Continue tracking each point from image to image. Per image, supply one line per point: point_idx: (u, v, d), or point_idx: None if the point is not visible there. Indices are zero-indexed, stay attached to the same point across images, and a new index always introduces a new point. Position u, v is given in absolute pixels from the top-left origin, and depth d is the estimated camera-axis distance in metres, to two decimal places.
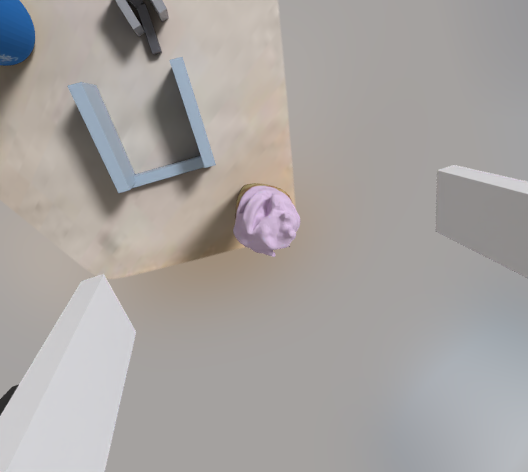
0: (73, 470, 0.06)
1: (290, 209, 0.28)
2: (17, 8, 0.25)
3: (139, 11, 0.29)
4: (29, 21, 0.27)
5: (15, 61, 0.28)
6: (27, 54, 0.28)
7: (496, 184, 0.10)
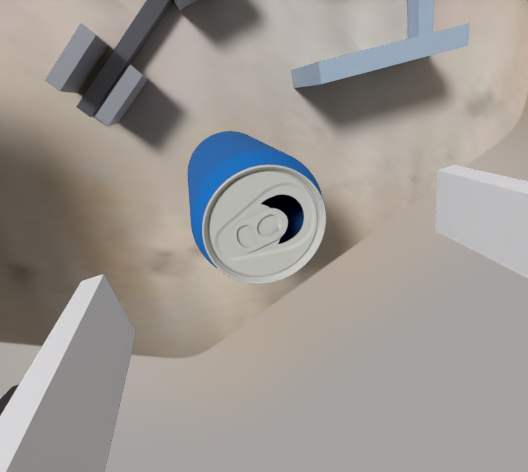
0: (73, 470, 0.06)
1: None
2: (222, 135, 0.20)
3: None
4: (226, 132, 0.21)
5: None
6: None
7: (496, 184, 0.10)
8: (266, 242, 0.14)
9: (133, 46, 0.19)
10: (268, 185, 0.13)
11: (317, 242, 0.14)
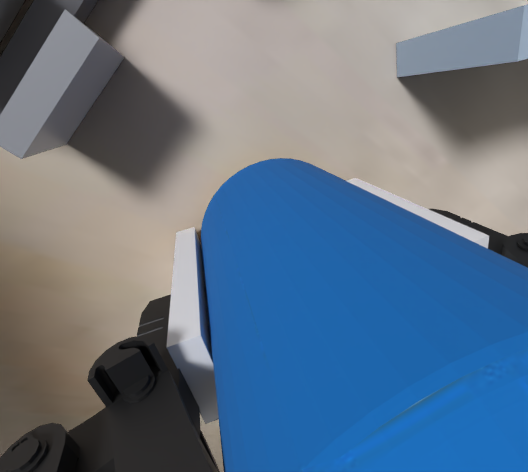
0: None
1: None
2: (276, 173, 0.09)
3: None
4: (276, 161, 0.11)
5: None
6: None
7: None
8: None
9: None
10: None
11: None
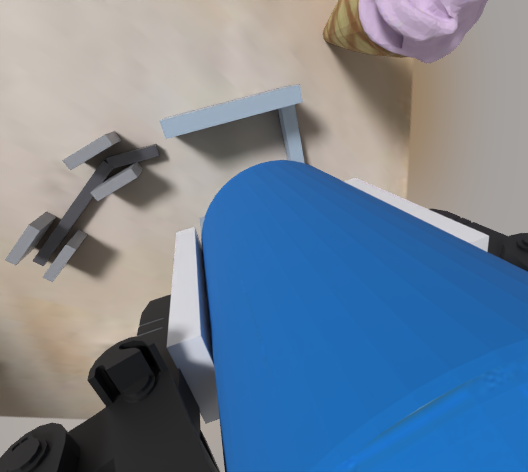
0: None
1: None
2: (277, 176, 0.09)
3: (115, 165, 0.25)
4: (277, 163, 0.11)
5: None
6: None
7: None
8: None
9: (72, 220, 0.26)
10: None
11: None
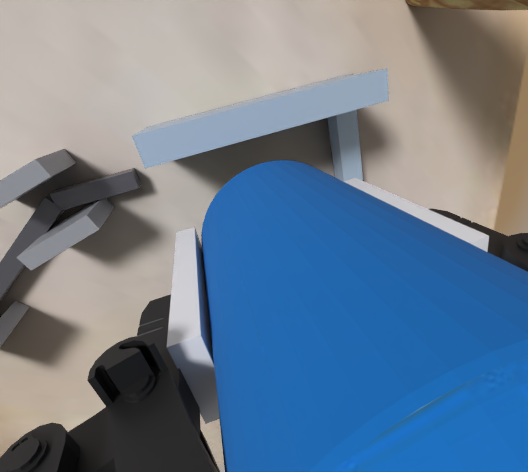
0: None
1: None
2: (277, 176, 0.09)
3: (67, 205, 0.15)
4: (277, 163, 0.11)
5: None
6: None
7: None
8: None
9: (0, 291, 0.16)
10: None
11: None
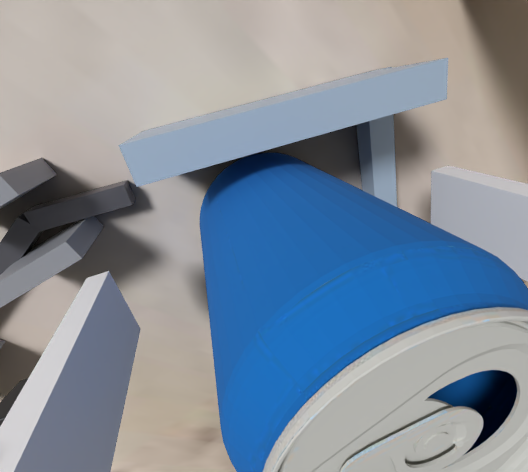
0: (82, 461, 0.06)
1: None
2: (262, 164, 0.11)
3: (45, 226, 0.12)
4: (264, 154, 0.13)
5: None
6: None
7: (489, 184, 0.10)
8: None
9: None
10: (461, 358, 0.04)
11: None
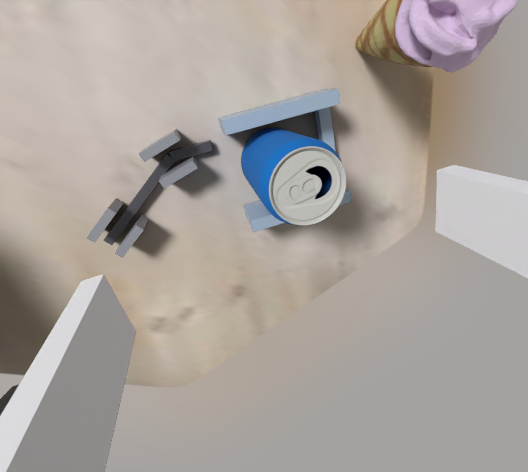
0: (73, 470, 0.06)
1: None
2: (270, 130, 0.28)
3: (176, 158, 0.29)
4: (271, 128, 0.29)
5: None
6: None
7: (496, 184, 0.10)
8: (307, 197, 0.22)
9: (138, 205, 0.30)
10: (310, 159, 0.21)
11: (340, 199, 0.22)
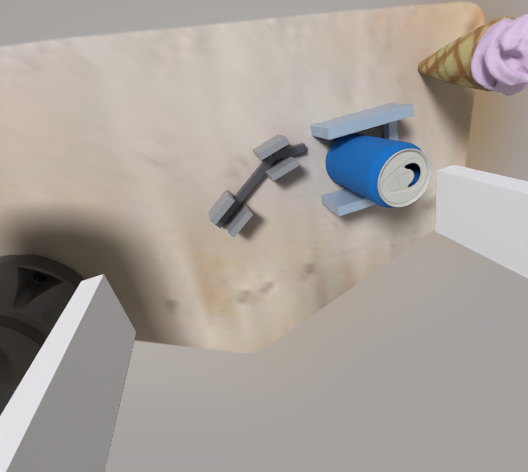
0: (73, 470, 0.06)
1: (523, 24, 0.25)
2: (355, 135, 0.35)
3: (278, 158, 0.36)
4: (352, 133, 0.37)
5: None
6: None
7: (496, 184, 0.10)
8: (403, 186, 0.29)
9: (244, 195, 0.37)
10: (408, 158, 0.28)
11: (424, 187, 0.30)
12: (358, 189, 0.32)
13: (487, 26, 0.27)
